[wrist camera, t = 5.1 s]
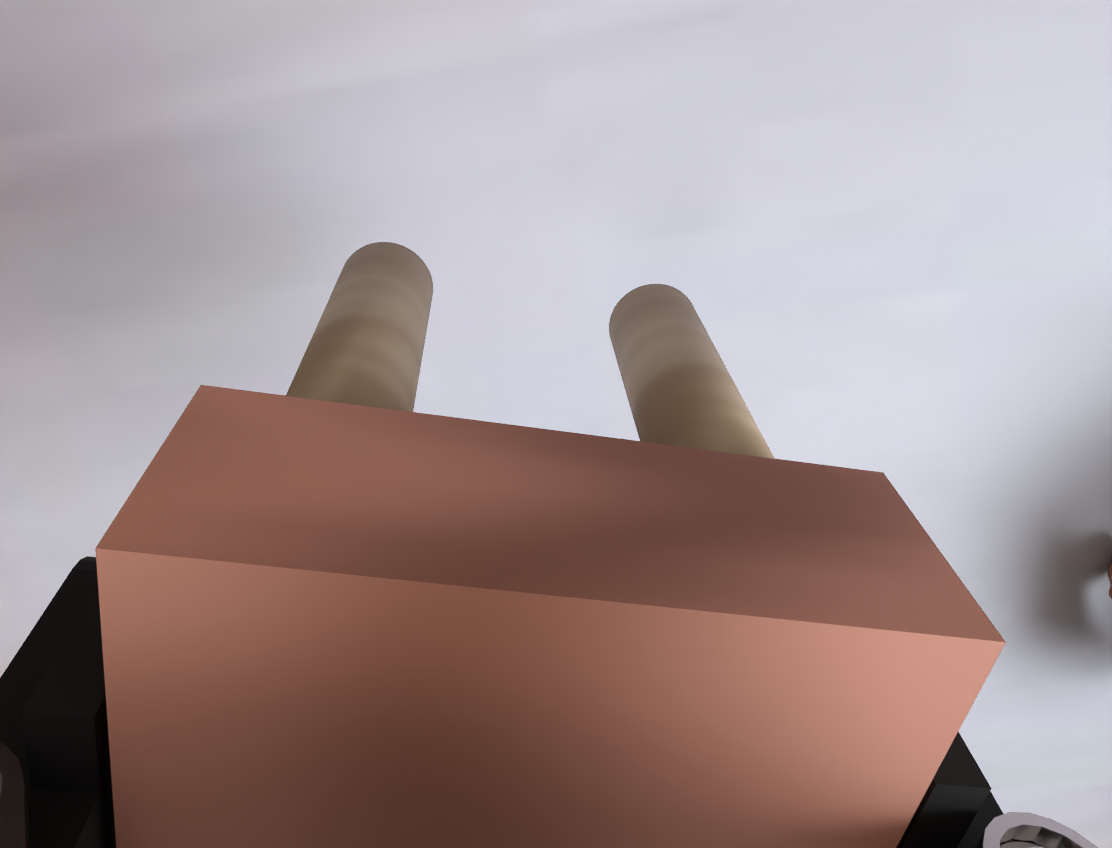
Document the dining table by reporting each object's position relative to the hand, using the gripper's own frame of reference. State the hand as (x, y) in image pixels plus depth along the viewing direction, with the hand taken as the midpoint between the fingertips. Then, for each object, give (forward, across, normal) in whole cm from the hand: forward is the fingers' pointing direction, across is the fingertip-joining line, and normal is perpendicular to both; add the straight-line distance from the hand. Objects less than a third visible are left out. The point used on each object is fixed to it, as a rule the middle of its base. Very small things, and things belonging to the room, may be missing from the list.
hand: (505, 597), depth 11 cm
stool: (+5, 0, 0) cm, 5 cm away
